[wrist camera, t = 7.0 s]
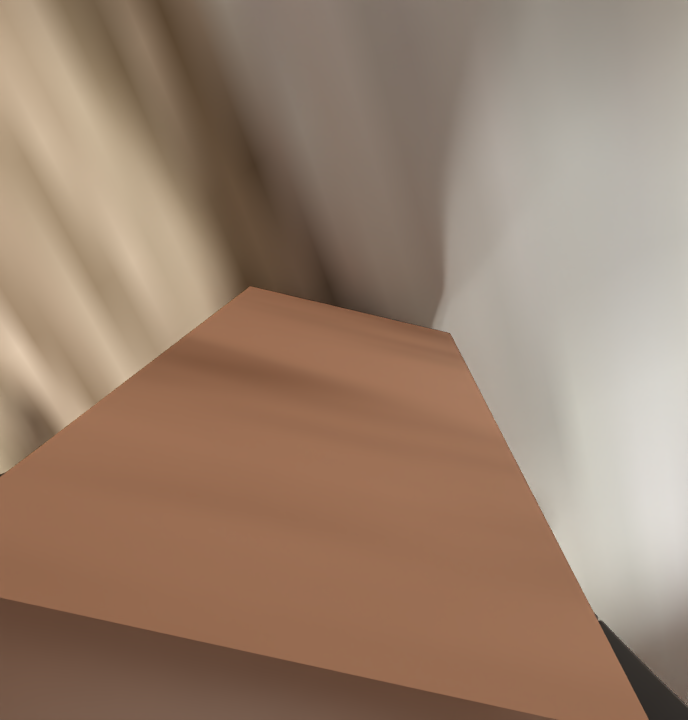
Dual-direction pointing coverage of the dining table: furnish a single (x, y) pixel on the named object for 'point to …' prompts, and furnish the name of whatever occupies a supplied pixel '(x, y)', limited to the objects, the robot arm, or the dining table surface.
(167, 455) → the terracotta block
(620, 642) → the robot arm
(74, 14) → the dining table surface
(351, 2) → the dining table surface
